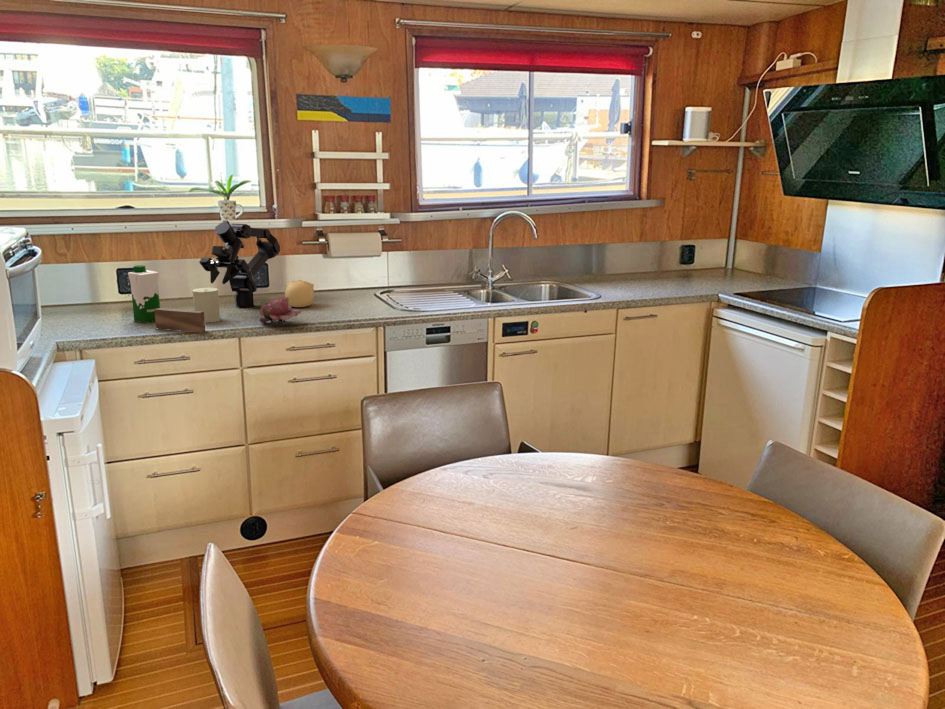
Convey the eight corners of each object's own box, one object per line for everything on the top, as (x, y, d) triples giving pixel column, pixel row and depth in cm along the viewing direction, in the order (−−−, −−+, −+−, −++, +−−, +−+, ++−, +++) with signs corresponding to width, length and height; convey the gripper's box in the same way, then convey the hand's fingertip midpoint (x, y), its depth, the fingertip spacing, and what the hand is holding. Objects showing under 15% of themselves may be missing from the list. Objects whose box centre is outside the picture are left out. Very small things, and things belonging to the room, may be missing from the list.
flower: (306, 312, 288) (296, 288, 284) (298, 326, 274) (287, 301, 271) (269, 322, 290) (259, 298, 286) (259, 336, 276) (248, 311, 272)
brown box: (160, 327, 274) (159, 308, 272) (205, 330, 270) (204, 311, 268) (156, 328, 271) (154, 309, 270) (201, 332, 267) (199, 312, 265)
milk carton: (150, 316, 290) (145, 264, 285) (166, 319, 286) (161, 266, 280) (130, 320, 283) (124, 267, 278) (145, 324, 278) (140, 269, 273)
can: (196, 323, 280) (193, 291, 277) (192, 318, 288) (190, 287, 285) (222, 321, 284) (220, 289, 281) (218, 316, 292) (215, 285, 289)
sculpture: (316, 303, 319) (315, 277, 316) (311, 309, 308) (310, 282, 305) (288, 303, 319) (287, 277, 316) (282, 309, 307) (281, 282, 304)
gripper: (200, 236, 293) (185, 269, 286) (243, 238, 289) (230, 271, 281) (213, 254, 303) (199, 286, 295) (255, 256, 298) (242, 289, 291)
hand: (217, 283), depth 290 cm, fingers open, 5 cm apart
